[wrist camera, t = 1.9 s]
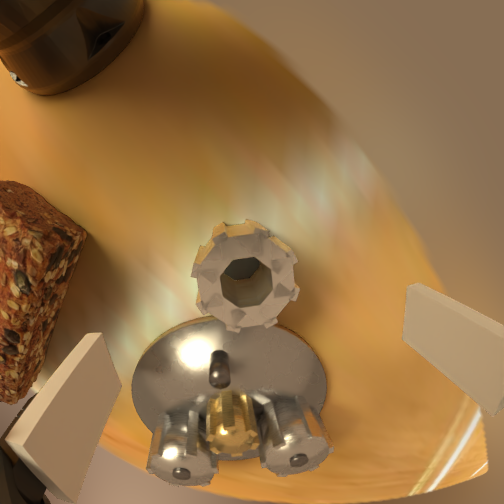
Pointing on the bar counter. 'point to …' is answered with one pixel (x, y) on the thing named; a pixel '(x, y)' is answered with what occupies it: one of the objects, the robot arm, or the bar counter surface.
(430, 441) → the bar counter surface
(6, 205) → the bread
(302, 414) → the carrier
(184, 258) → the bar counter surface
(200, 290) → the planet gear
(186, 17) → the bar counter surface
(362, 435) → the bar counter surface
